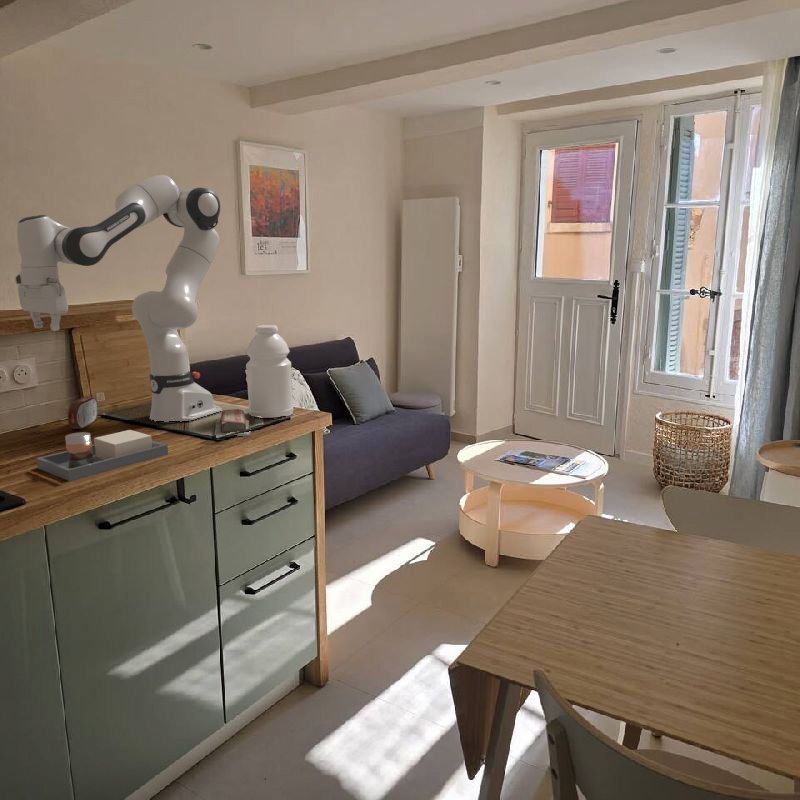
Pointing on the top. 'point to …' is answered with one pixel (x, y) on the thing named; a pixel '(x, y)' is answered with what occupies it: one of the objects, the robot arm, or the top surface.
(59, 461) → the tray
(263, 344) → the bottle
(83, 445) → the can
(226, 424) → the packaged product
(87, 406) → the brown grey rounded block
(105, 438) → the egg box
